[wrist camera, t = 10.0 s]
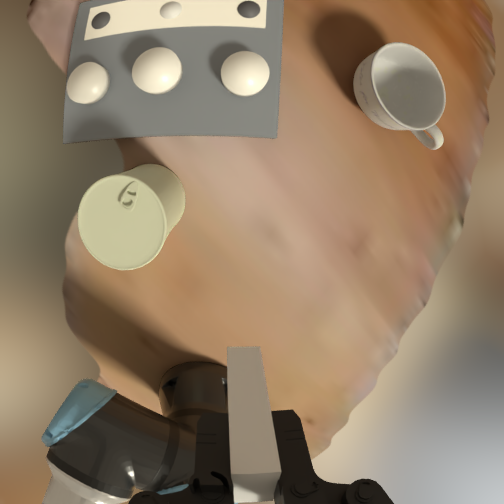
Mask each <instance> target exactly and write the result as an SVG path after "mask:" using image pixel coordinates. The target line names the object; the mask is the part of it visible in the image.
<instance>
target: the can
mask: <svg viewBox="0 0 504 504" xmlns="http://www.w3.org/2000/svg"><path fill="white" fill-rule="evenodd" d="M184 208H185V192H184V189H183V186H182V184H181V182H180V180H179V179H178V177H177V176H176V175H175V174H174V173H173V172H172V171H171V170H169V169H168V168H166V167H164V166H161V165H157V164H143V165H140V166H137V167H135V168H133V169H132V170H129V171H125V172H122V173H119V174H115V175H109V176H106V177H104V178H101V179H100V180H98V181H96V182H95V183H94V184H92V185H91V186H90V187H89V188H88V190H87V191H86V193H85V194H84V196H83V198H82V200H81V202H80V205H79V209H78V229H79V233H80V236H81V239H82V241H83V243H84V245H85V247H86V248H87V250H88V251H89V252H90V253H91V255H92V256H93V257H94V258H96V259H97V260H98V261H99V262H101V263H102V264H104V265H106V266H108V267H111V268H114V269H119V270H133V269H137V268H140V267H142V266H144V265H146V264H148V263H149V262H151V261H152V260H153V259H154V258H155V257H156V256H157V255H158V253H159V252H160V250H161V248H162V246H163V244H164V241H165V240H166V238H167V236H168V235H169V233H170V231H171V230H172V228H173V227H174V226H175V225H176V224H177V223H178V222H179V220H180V218H181V217H182V214H183V212H184Z"/></svg>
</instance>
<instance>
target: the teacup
mask: <svg viewBox="0 0 504 504" xmlns="http://www.w3.org/2000/svg"><path fill="white" fill-rule="evenodd" d="M353 87H354V93H355V97H356V100H357V102H358V104H359V106H360V108H361V109H362V111H363V112H364V113H365V115H366V116H367V117H368V118H369V119H371V120H372V121H373V122H374V123H376V124H378V125H380V126H382V127H384V128H387V129H392V130H410V131H411V132H412V133H413V134H414V135H415V136H416V137H417V139H418V140H419V141H420V142H421V143H422V144H423V145H425V146H426V147H427V148H429V149H432V150H436V149H438V148H440V147H441V145H442V144H443V140H444V138H443V135H442V133H441V131H440V130H439V128H438V127H437V126H436V125H435V124H436V123H437V122H438V120H439V119H440V117H441V115H442V113H443V111H444V108H445V101H446V96H445V88H444V84H443V81H442V78H441V75H440V73H439V71H438V69H437V68H436V66H435V65H434V63H433V62H432V61H431V60H430V58H429V57H428V56H427V55H426V54H424V53H423V52H422V51H421V50H419V49H418V48H416V47H414V46H412V45H409V44H406V43H401V42H394V43H389V44H386V45H384V46H382V47H381V48H380V49H379V50H377V51H376V52H374V53H372V54H371V55H369V56H368V57H366V58H365V59H364V60H363V61H362V62H361V63H360V64H359V66H358V68H357V70H356V72H355V75H354V81H353ZM423 130H426V131H427V132H429V133H430V134H431V136H432V137H433V139H434V140H433V139H431V138H430V137H429V136H428V135H427V134H426V133H425V132H424V131H423Z"/></svg>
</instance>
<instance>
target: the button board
mask: <svg viewBox="0 0 504 504" xmlns="http://www.w3.org/2000/svg"><path fill="white" fill-rule="evenodd" d="M283 9H284V0H90V1H87V2H83V3H80V6H79V10H78V14H77V19H76V23H75V28H74V33H73V39H72V44H71V50H70V57H69V64H68V72H67V81H66V91H65V104H64V123H63V144H68V143H77V142H78V143H79V142H87V141H97V140H108V139H120V138H136V137H157V136H234V137H256V138H272V139H275V138H277V130H278V113H279V95H280V76H281V56H282V34H283ZM156 47H164V48H167V49H170V50H172V51H173V52H174V53H175V54H176V55H177V57H178V58H179V60H180V61H181V63H182V67H183V74H182V78H181V80H180V82H179V83H178V85H177V86H176V87H175V88H174V89H172V90H171V91H169V92H167V93H164V94H160V95H153V94H149V93H147V92H145V91H143V90H142V89H140V88H139V87H137V86H136V84H135V83H134V81H133V78H132V68H133V65H134V63H135V61H136V59H137V58H138V57H139V56H140V55H141V54H142V53H144V52H145V51H147V50H149V49H152V48H156ZM240 51H250V52H254V53H256V54H258V55H260V56H261V57H262V58H263V59H264V60H265V61H266V62H267V64H268V67H269V79H268V81H267V83H266V85H265V86H264V88H263V89H262V90H261V91H260V92H259V93H257V94H255V95H253V96H249V97H240V96H236V95H234V94H232V93H230V92H229V91H228V90H227V89H226V88H225V87H224V85H223V83H222V78H221V68H222V65H223V63H224V61H225V60H226V59H227V58H228V57H229V56H230V55H232V54H234V53H236V52H240ZM86 62H94V63H97V64H99V65H101V66H102V67H104V68H106V69H107V71H108V72H109V74H110V86H109V89H108V91H107V93H106V94H105V95H104V97H103V98H102V99H100V100H99V101H98V102H96V103H93V104H82V103H77V102H74V101H73V100H71V99H70V97H69V96H68V93H67V82H68V79H69V77H70V75H71V73H72V72H73V71H74V69H75V68H77V67H78V66H79V65H81V64H83V63H86Z"/></svg>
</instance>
